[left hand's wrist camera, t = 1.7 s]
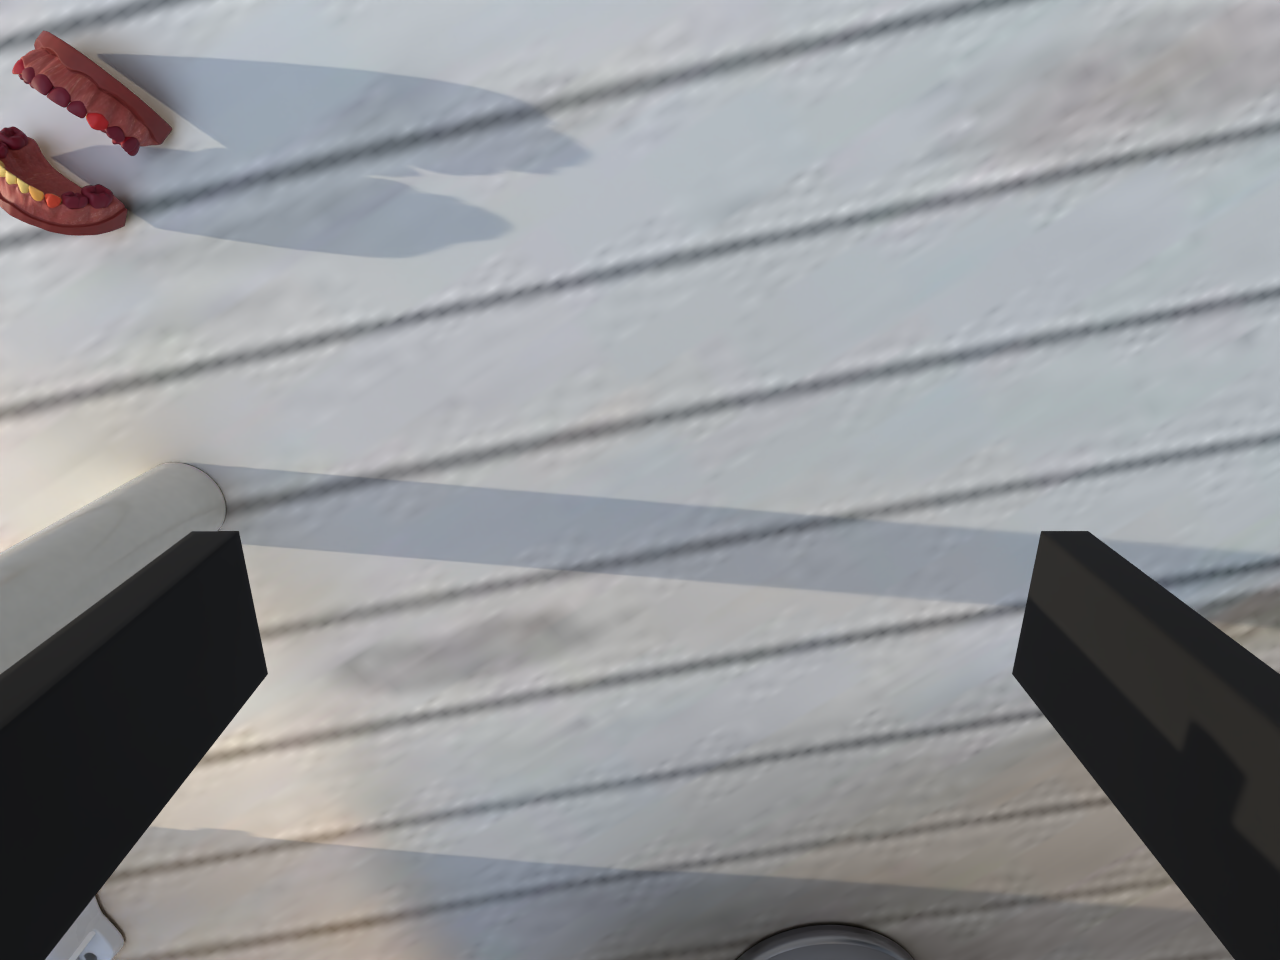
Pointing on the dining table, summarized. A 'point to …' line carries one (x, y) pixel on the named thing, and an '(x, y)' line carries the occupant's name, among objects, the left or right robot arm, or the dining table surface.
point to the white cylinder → (98, 551)
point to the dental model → (31, 186)
